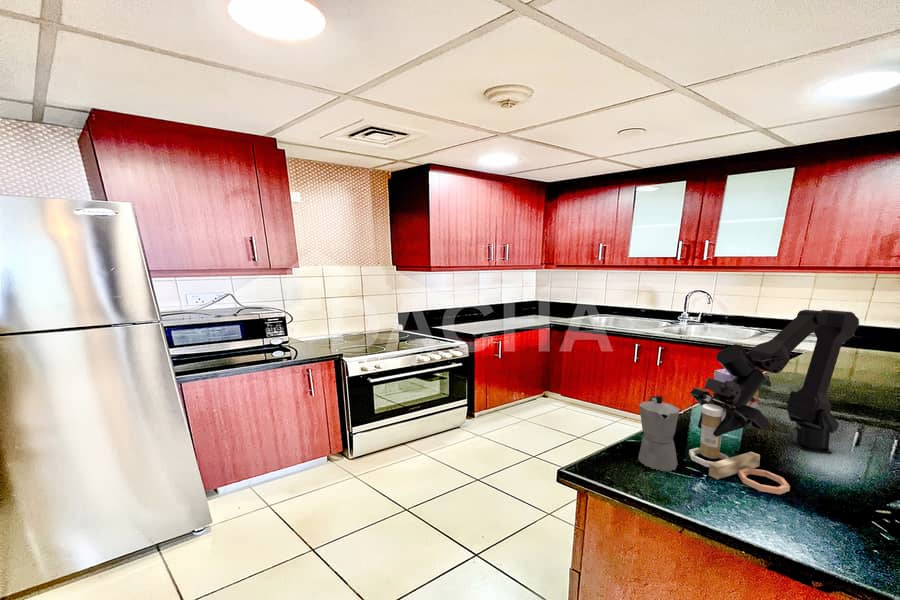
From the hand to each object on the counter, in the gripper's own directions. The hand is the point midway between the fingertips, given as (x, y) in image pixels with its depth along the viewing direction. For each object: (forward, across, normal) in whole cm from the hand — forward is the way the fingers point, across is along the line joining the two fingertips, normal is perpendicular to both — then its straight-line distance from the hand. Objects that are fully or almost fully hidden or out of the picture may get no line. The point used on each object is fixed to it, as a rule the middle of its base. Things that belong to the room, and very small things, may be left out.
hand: (706, 431), depth 99 cm
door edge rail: (+4, +6, +8) cm, 10 cm away
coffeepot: (+15, -3, -3) cm, 15 cm away
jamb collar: (+5, 0, +6) cm, 8 cm away
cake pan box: (-17, -21, +29) cm, 40 cm away
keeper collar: (+3, +12, +8) cm, 15 cm away
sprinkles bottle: (+4, 0, +6) cm, 7 cm away
